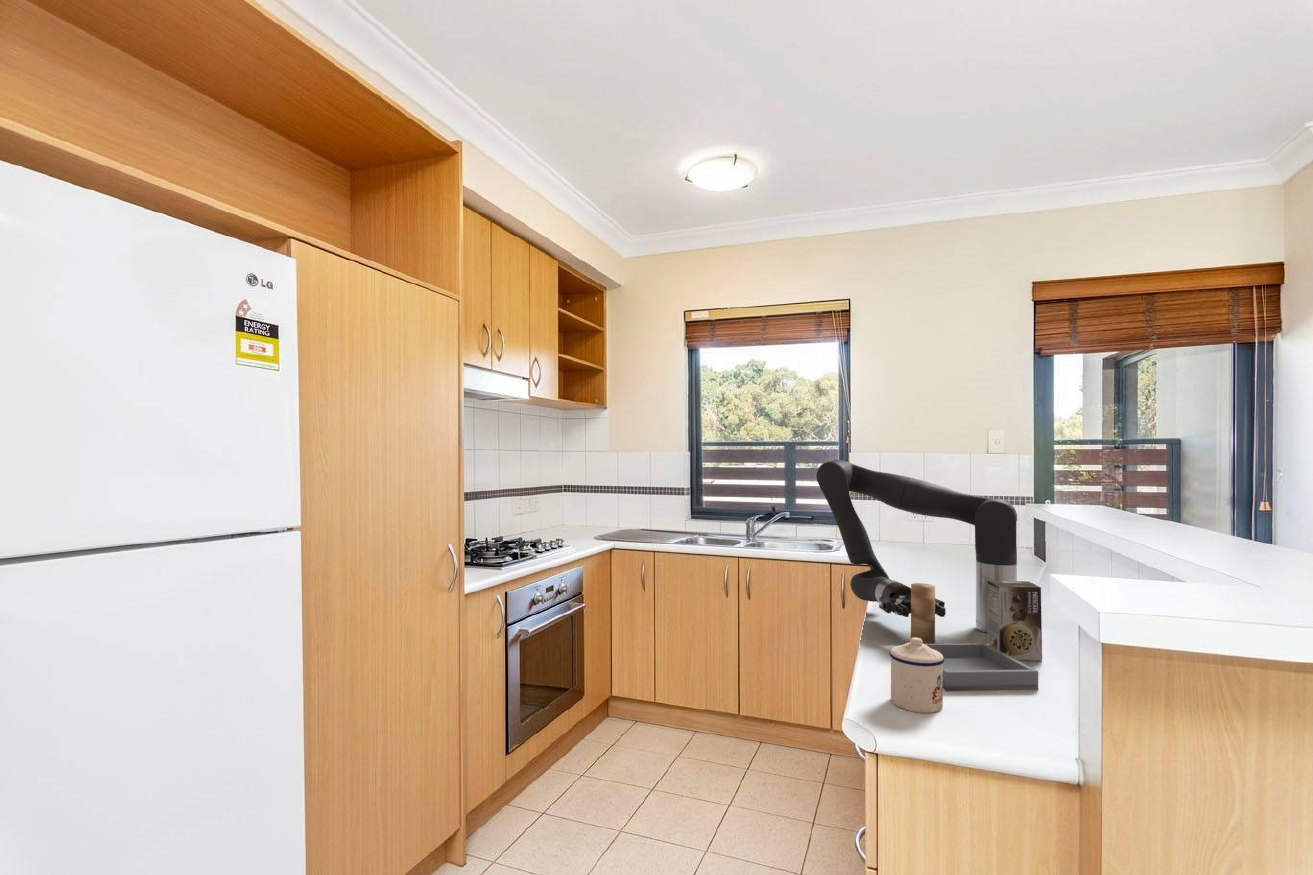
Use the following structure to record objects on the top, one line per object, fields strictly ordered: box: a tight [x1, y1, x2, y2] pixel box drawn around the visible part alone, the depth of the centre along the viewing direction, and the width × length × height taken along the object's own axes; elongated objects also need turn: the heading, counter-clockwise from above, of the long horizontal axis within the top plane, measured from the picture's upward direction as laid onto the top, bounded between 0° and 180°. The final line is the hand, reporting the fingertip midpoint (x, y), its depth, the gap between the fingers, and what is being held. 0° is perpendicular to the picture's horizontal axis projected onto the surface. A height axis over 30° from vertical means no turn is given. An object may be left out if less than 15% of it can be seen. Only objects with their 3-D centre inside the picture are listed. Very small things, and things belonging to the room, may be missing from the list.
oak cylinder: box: [910, 582, 936, 644], centre depth 151 cm, size 5×5×14 cm
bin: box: [925, 642, 1039, 692], centre depth 132 cm, size 18×18×4 cm
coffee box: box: [987, 580, 1043, 662], centre depth 144 cm, size 9×6×16 cm
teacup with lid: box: [889, 637, 944, 714], centre depth 117 cm, size 12×9×12 cm
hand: (925, 612), depth 150 cm, fingers open, 8 cm apart
